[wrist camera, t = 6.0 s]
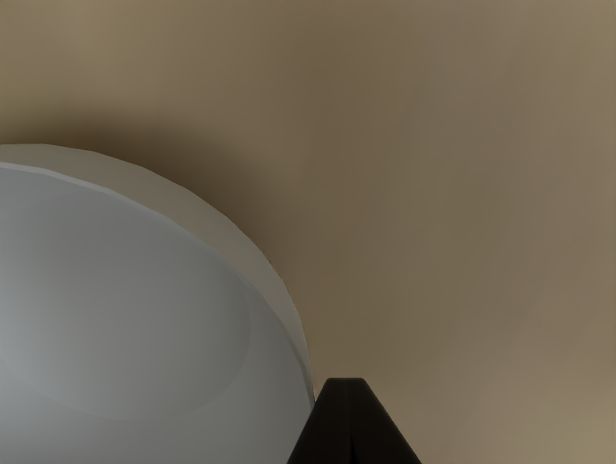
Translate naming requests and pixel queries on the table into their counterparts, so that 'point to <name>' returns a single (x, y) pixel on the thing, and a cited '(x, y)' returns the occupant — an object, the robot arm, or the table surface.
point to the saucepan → (138, 322)
